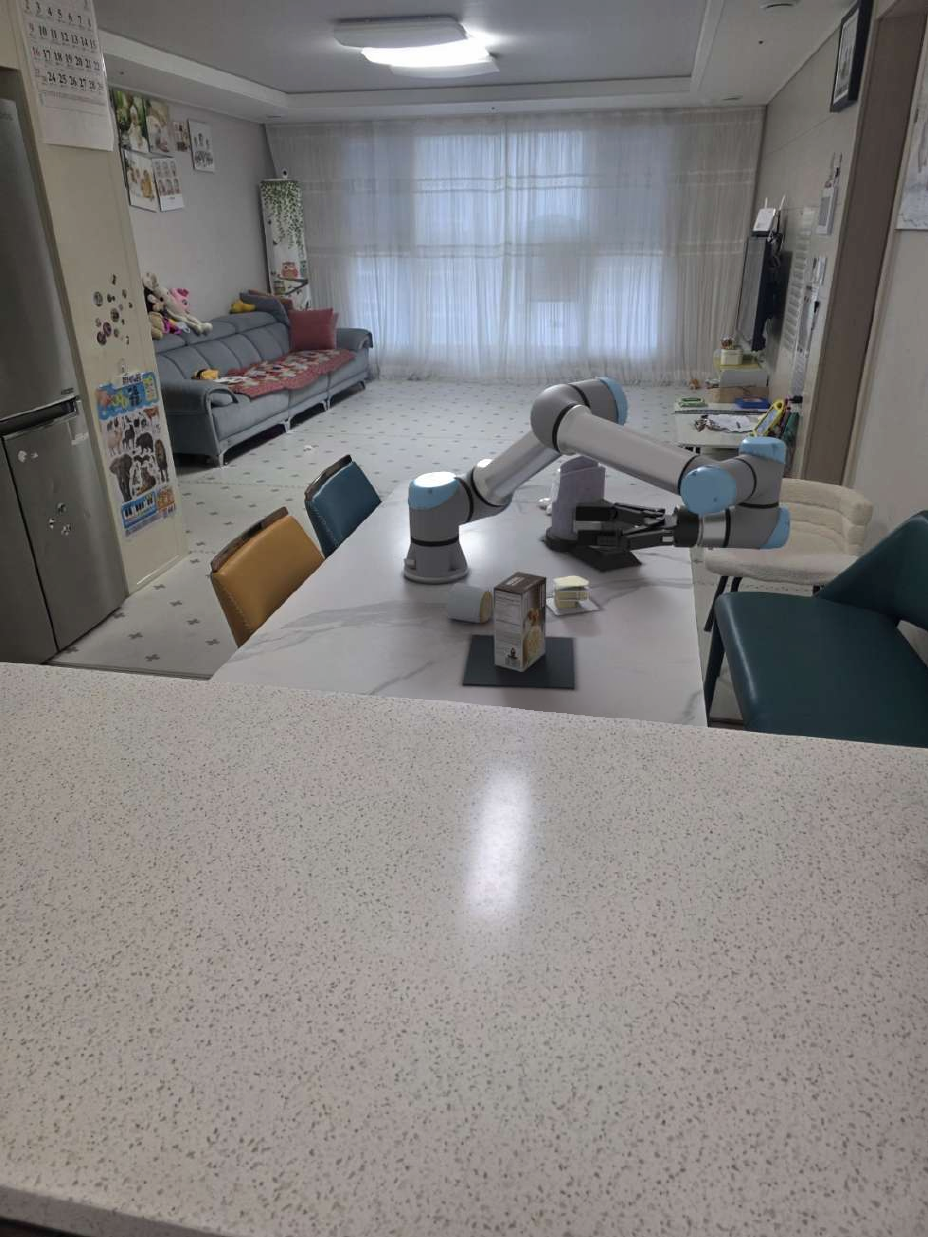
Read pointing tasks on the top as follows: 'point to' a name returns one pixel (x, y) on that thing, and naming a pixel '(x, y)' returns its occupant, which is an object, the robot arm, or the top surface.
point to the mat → (543, 673)
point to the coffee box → (519, 620)
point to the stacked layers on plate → (570, 596)
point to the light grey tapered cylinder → (469, 603)
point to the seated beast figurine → (552, 493)
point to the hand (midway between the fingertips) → (576, 524)
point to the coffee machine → (584, 489)
